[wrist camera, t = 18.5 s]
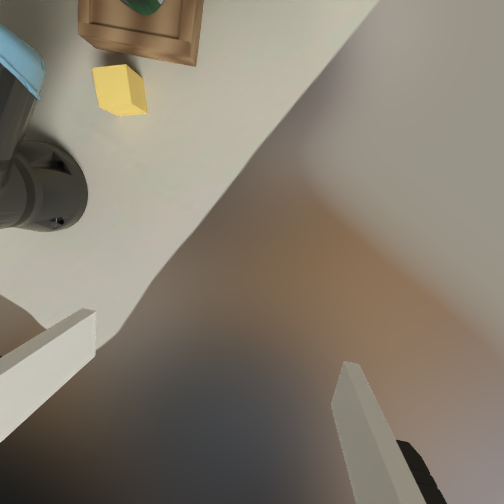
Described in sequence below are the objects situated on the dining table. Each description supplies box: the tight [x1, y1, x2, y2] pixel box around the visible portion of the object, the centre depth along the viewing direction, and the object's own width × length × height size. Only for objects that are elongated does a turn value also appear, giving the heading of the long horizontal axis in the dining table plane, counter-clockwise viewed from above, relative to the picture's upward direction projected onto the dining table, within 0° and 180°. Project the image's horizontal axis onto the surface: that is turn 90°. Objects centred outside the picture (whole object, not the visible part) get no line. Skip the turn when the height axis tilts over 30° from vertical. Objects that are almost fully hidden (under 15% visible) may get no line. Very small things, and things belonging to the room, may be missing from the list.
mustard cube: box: [92, 64, 148, 116], centre depth 39 cm, size 5×5×5 cm
